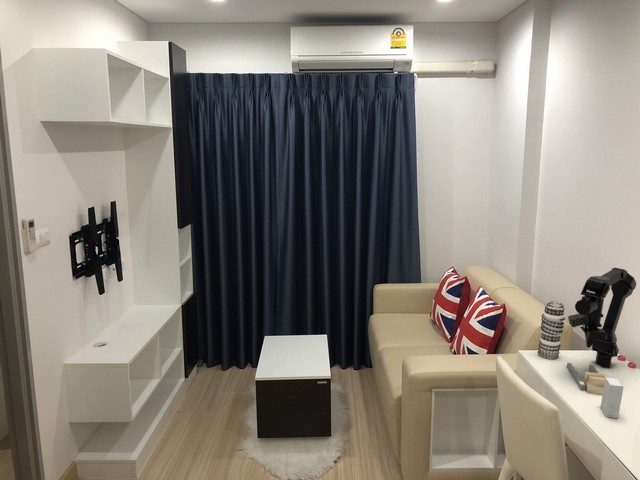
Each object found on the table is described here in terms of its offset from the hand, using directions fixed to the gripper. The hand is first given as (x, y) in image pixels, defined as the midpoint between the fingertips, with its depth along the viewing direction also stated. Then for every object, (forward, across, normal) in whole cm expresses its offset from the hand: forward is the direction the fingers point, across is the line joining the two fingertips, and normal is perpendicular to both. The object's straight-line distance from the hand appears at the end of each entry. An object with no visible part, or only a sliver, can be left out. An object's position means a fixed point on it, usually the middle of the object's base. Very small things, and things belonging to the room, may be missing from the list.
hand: (588, 347), depth 208 cm
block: (+12, +13, 0) cm, 18 cm away
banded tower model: (+13, -16, -10) cm, 23 cm away
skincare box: (+13, +27, +1) cm, 30 cm away
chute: (+13, +4, 0) cm, 14 cm away
